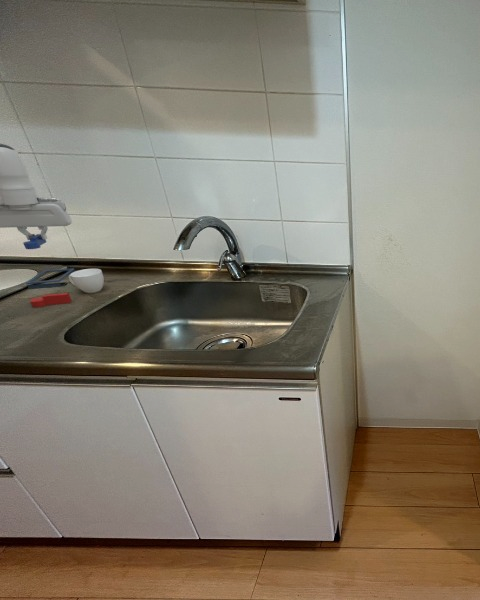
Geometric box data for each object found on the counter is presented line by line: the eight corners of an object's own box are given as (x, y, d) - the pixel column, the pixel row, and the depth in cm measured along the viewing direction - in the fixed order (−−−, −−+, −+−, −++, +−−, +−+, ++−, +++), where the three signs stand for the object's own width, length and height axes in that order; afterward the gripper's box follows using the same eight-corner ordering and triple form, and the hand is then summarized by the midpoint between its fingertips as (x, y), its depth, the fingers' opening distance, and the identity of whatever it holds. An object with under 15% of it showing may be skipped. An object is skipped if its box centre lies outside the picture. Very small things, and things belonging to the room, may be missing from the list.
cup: (95, 295, 103) (88, 277, 100) (64, 294, 103) (55, 275, 100) (114, 286, 110) (107, 269, 107) (84, 285, 110) (77, 267, 107)
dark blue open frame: (61, 286, 108) (58, 280, 106) (29, 289, 104) (25, 282, 103) (76, 274, 117) (73, 268, 116) (47, 276, 114) (44, 270, 113)
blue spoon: (37, 242, 108) (33, 234, 106) (50, 242, 109) (46, 233, 108) (23, 249, 101) (19, 240, 99) (37, 249, 102) (33, 240, 101)
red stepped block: (73, 299, 100) (69, 291, 99) (68, 304, 97) (64, 295, 96) (36, 303, 96) (31, 294, 95) (30, 308, 94) (25, 299, 92)
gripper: (66, 196, 106) (81, 235, 112) (-21, 196, 98) (1, 238, 104) (57, 199, 101) (74, 240, 107) (-34, 199, 93) (-11, 243, 99)
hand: (37, 239), depth 106 cm, fingers closed on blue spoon
